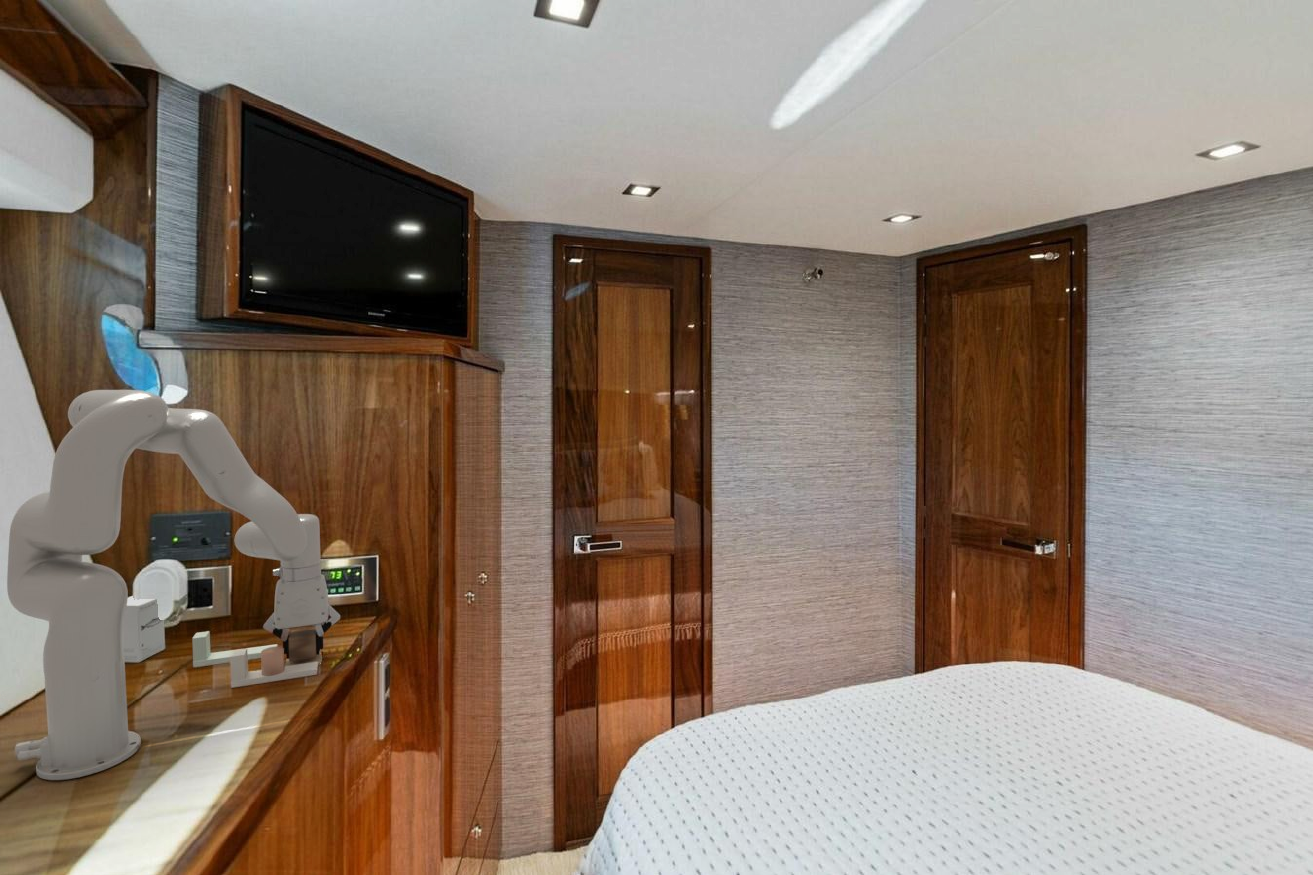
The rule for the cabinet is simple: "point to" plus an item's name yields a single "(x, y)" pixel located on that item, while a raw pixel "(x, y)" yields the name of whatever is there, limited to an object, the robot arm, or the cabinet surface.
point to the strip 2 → (244, 677)
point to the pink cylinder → (272, 661)
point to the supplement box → (142, 630)
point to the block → (302, 644)
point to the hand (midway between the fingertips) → (303, 653)
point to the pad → (304, 661)
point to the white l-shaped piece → (206, 658)
